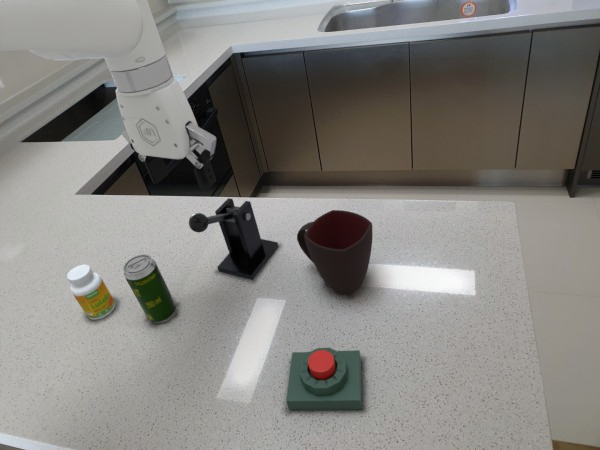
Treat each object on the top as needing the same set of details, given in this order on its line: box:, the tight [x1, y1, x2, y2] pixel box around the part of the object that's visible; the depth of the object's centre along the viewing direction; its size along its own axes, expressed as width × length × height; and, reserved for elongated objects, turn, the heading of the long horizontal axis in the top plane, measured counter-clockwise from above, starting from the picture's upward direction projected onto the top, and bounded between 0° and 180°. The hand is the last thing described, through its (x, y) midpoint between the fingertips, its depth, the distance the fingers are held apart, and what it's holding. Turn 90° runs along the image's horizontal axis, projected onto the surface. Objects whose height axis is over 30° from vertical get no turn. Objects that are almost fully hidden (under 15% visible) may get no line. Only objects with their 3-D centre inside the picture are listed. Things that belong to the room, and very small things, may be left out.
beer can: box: [122, 253, 177, 324], centre depth 79 cm, size 5×5×12 cm
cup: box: [296, 209, 374, 296], centre depth 79 cm, size 10×14×12 cm
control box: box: [285, 347, 363, 411], centre depth 64 cm, size 10×8×4 cm
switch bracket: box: [214, 197, 279, 281], centre depth 87 cm, size 10×8×13 cm
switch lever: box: [188, 205, 241, 233], centre depth 80 cm, size 13×3×3 cm, turn 153°
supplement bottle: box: [66, 264, 116, 321], centre depth 84 cm, size 5×5×10 cm
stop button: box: [308, 350, 336, 380], centre depth 63 cm, size 4×4×2 cm
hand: (184, 182), depth 71 cm, fingers open, 9 cm apart
